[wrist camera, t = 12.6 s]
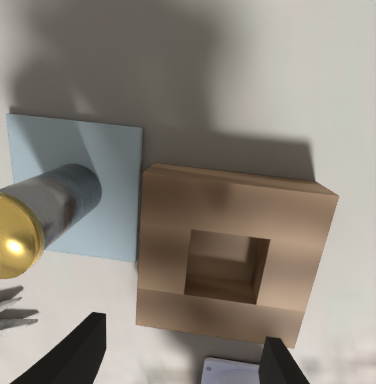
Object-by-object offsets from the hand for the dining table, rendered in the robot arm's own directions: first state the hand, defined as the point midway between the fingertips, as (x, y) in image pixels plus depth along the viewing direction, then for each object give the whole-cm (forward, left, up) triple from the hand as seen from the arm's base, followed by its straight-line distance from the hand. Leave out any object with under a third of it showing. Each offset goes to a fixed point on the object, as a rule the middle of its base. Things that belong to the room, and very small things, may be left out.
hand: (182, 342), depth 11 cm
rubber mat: (+3, +10, -10) cm, 14 cm away
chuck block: (0, -2, -10) cm, 10 cm away
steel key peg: (+3, +10, -9) cm, 14 cm away
